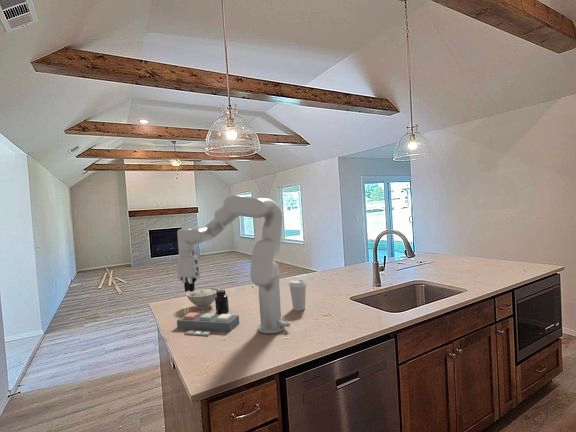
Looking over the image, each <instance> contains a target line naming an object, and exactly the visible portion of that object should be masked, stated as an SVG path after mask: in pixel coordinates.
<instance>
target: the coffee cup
mask: <svg viewBox="0 0 576 432" xmlns="http://www.w3.org/2000/svg"><path fill="white" fill-rule="evenodd" d="M288 286H289V291H290V297H291V302H292V303H291V304H292V309H293V311H297V312H300V311H301V312H302V311H305V310H306V294H307V292H306V291H307V290H306V289H307V281H305V279H300V278H299V279H298V278H297V279H292V280H290V281H289V283H288Z"/></svg>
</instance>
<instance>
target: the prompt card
mask: <svg viewBox="0 0 576 432" xmlns="http://www.w3.org/2000/svg"><path fill="white" fill-rule="evenodd" d="M212 333H213V331H209V330H193V329H188V330H187V331H186V332H185V333H184V335H185V336H197V335H199V337H202V336H203V337H209V336H210V335H212Z"/></svg>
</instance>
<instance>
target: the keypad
mask: <svg viewBox="0 0 576 432" xmlns="http://www.w3.org/2000/svg"><path fill="white" fill-rule="evenodd" d="M187 314H188V313H186V314H185V315H187ZM204 314H205V313H199V316H198V317H197V318H195V319H194V320H192V319H184V316H185V315H183V316H182V317H180V318H179V319H177V320H176V325H177V326H176V327H177V328H178V329H179V330H180V329H181V330H193V329H195V330H196V331H212V332H225V333H226V332H228V333H229V332H232V331H233V330H234V329H235V328H236V327H237V326H239V325H240V315H238V314H237V315H235V314H232V318H231V319H230V320H229V321H217V317H219V316H220V315H219V314H217V313H214V314H215V317H214V318H213V319H212V320H200V317H201V316H202V315H204Z"/></svg>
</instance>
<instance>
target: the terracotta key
mask: <svg viewBox="0 0 576 432" xmlns="http://www.w3.org/2000/svg"><path fill="white" fill-rule="evenodd" d="M186 314H187V315H186ZM186 314H185V315H183V316H184V319H192V320H194V319H195V318H197V317H198V316H199V314H200V312H191V311H190V312H188V313H186Z"/></svg>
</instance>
